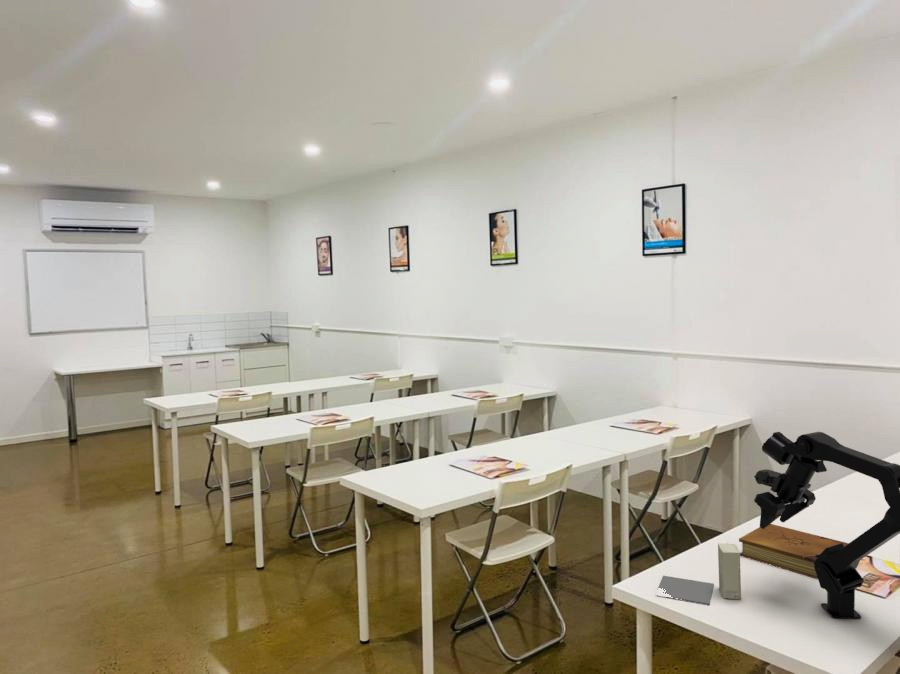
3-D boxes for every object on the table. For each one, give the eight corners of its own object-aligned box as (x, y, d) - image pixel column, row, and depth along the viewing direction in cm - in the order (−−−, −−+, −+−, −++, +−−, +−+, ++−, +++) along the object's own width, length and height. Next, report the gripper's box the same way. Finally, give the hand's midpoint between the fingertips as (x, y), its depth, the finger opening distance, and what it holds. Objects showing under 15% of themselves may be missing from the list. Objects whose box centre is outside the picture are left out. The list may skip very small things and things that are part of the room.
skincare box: (741, 600, 166) (741, 553, 165) (722, 598, 167) (722, 552, 166) (735, 588, 172) (735, 543, 171) (717, 587, 173) (717, 542, 172)
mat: (713, 585, 174) (713, 583, 174) (709, 605, 163) (709, 603, 163) (663, 576, 180) (663, 575, 180) (655, 595, 169) (655, 594, 169)
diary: (850, 562, 186) (850, 542, 186) (823, 583, 175) (823, 562, 174) (768, 539, 204) (768, 521, 204) (738, 556, 192) (739, 537, 192)
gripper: (789, 453, 177) (765, 499, 183) (749, 462, 166) (725, 510, 172) (828, 478, 168) (801, 525, 174) (788, 489, 158) (761, 539, 164)
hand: (771, 524), depth 172 cm, fingers open, 9 cm apart
